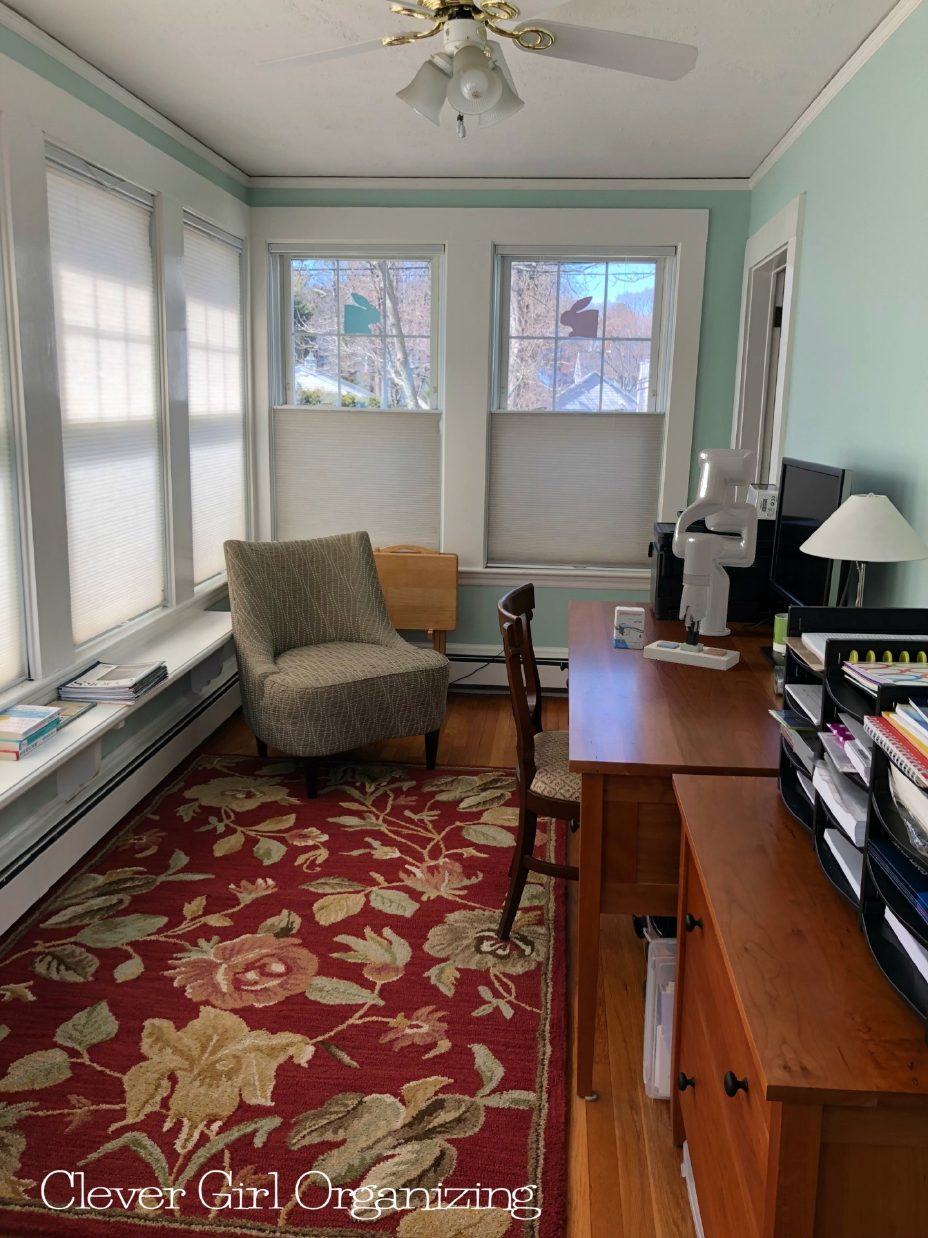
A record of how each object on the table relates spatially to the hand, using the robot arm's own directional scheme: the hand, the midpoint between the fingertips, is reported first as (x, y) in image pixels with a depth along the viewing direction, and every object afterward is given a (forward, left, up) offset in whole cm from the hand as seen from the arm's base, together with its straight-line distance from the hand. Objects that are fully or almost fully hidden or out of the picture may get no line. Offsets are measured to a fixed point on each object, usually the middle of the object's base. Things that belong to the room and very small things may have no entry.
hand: (691, 643), depth 276 cm
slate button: (0, -7, -4) cm, 8 cm away
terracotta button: (0, +7, -4) cm, 8 cm away
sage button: (0, 0, -3) cm, 3 cm away
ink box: (-4, -21, -5) cm, 22 cm away
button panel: (0, 0, -5) cm, 5 cm away
